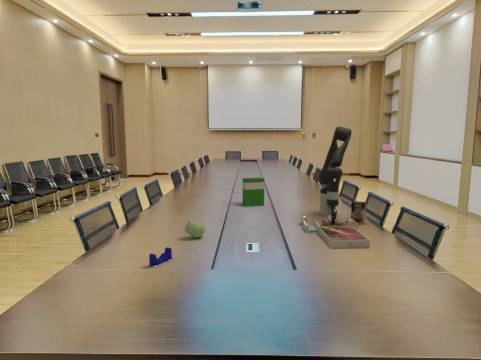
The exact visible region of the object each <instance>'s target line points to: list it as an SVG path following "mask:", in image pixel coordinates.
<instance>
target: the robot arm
mask: <svg viewBox="0 0 481 360" xmlns="http://www.w3.org/2000/svg"><path fill="white" fill-rule="evenodd" d="M351 137H352V129H351V128H348V127H343V126H339V125H338V126H337V127H336V128H335V129H334V132H333V135H332V140H331V144H330V146H329V149H328V152H327V153H326V158H325V160H324V164H323V166H322V168H321V171H320V172H319V174H318V178H317V179H318V183H319V184H320V185H326V186H324V187H322V188H320V194H319V215H320V216H323V217H324V216H325V217H328V215H331V225H335V219H336V220H337V215H338V210H337V207H338V206H339V200H340V199H339V198H340V193H339V191H340V182H341V179H342V176H343V170H342V168H340V167H341V166H342V164H343V159H344V156H345V153H346V150H347V148H348V146H349V142H350V141H351ZM338 141H340V142H343V143H341V144H342V145H340V146H339V145H338ZM333 216H334V217H333Z"/></svg>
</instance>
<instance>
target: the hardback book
mask: <svg viewBox="0 0 481 360" xmlns="http://www.w3.org/2000/svg"><path fill="white" fill-rule="evenodd" d="M242 206H243V207H244V208H249V207H261V206H263V207H264V206H265V178H263V177H243V178H242Z"/></svg>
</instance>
